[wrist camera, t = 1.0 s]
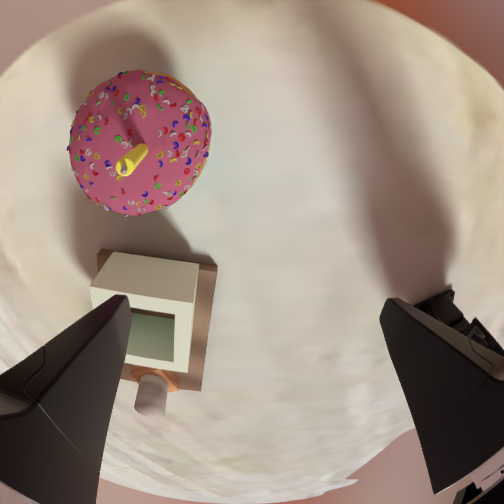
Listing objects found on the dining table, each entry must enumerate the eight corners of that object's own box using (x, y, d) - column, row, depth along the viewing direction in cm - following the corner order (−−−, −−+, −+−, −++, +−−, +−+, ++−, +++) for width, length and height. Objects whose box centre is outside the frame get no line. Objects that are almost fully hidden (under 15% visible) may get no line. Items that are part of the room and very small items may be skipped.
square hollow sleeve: (192, 330, 25) (187, 372, 20) (118, 319, 24) (102, 358, 19) (199, 263, 22) (193, 303, 17) (113, 251, 21) (89, 286, 16)
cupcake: (223, 85, 17) (217, 38, 6) (205, 200, 21) (183, 297, 10) (107, 80, 16) (-4, 63, 5) (98, 189, 19) (1, 266, 9)
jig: (201, 385, 30) (199, 428, 25) (117, 371, 28) (106, 412, 23) (217, 265, 23) (215, 312, 18) (101, 249, 21) (71, 288, 16)
